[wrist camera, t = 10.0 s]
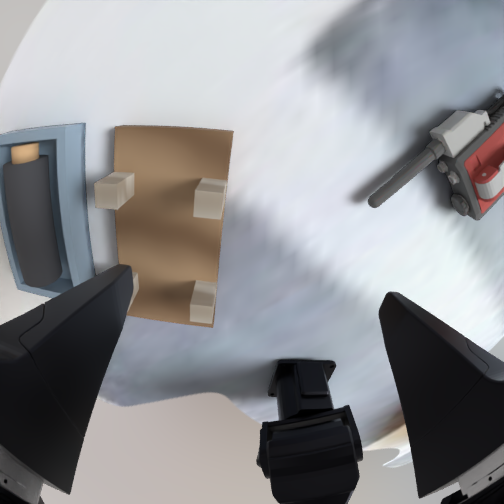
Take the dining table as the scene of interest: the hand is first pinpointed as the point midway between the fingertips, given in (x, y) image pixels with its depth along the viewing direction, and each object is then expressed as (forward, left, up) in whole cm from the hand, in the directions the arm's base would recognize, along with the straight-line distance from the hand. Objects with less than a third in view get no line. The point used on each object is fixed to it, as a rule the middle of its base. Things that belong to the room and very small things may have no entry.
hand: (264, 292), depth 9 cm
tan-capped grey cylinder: (-3, +17, -11) cm, 21 cm away
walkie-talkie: (+6, -17, -13) cm, 22 cm away
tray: (-3, +17, -12) cm, 21 cm away
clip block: (-4, +6, -12) cm, 14 cm away
